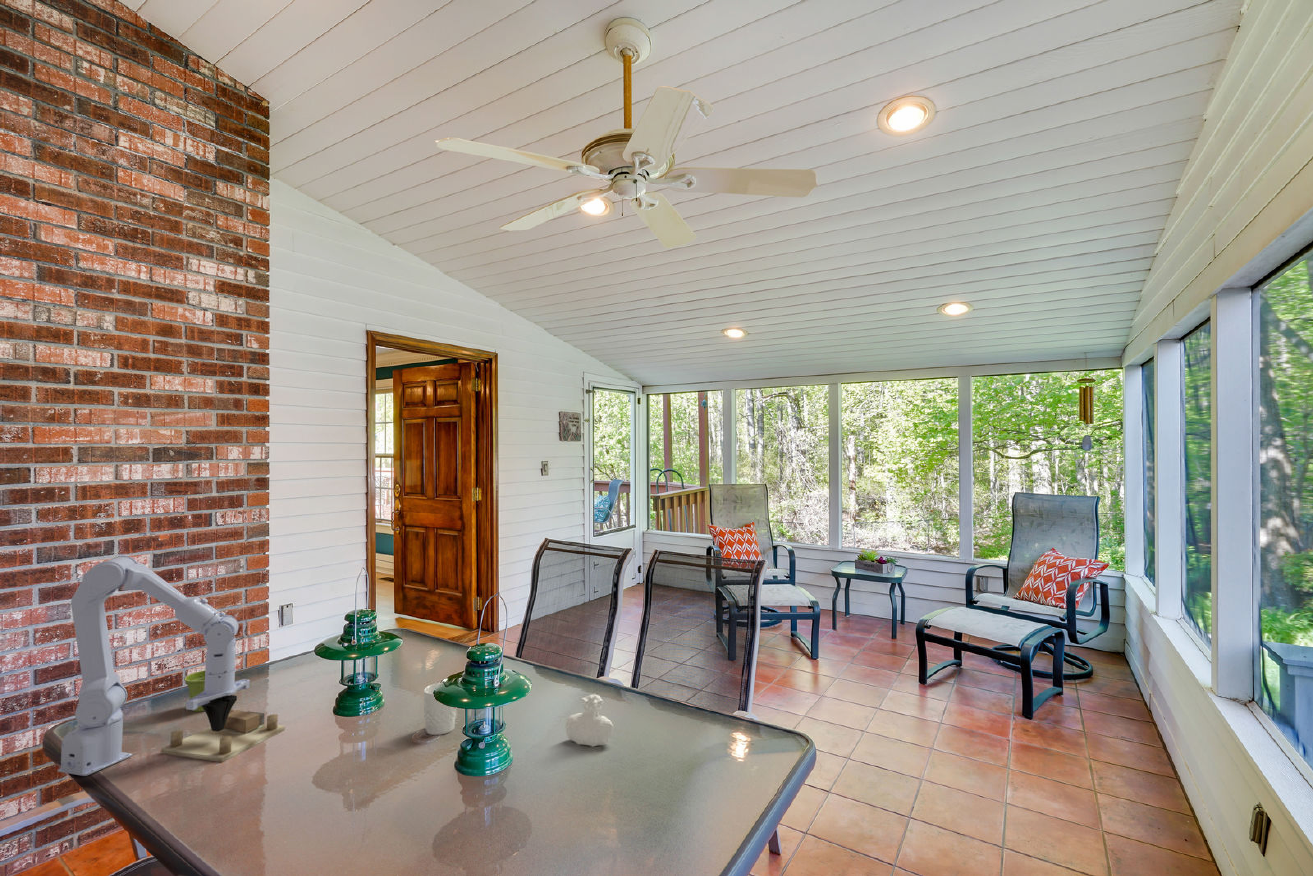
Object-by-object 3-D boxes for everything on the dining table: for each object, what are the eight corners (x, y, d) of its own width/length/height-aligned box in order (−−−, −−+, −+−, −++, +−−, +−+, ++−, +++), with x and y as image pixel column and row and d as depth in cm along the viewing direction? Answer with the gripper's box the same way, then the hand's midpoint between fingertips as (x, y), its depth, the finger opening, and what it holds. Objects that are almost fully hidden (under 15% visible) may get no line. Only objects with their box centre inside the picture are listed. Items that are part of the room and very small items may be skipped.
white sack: (613, 753, 146) (624, 704, 153) (604, 744, 141) (615, 693, 148) (567, 746, 150) (579, 698, 157) (556, 737, 144) (569, 688, 151)
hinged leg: (213, 726, 151) (214, 711, 151) (228, 720, 155) (228, 706, 155) (245, 732, 148) (246, 717, 148) (259, 727, 151) (259, 711, 151)
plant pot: (210, 715, 161) (211, 681, 162) (174, 714, 161) (175, 680, 162) (235, 701, 171) (236, 669, 171) (201, 700, 171) (202, 668, 171)
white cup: (462, 723, 157) (462, 683, 158) (448, 737, 149) (449, 694, 150) (432, 721, 158) (432, 682, 158) (417, 735, 150) (418, 693, 150)
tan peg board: (222, 762, 136) (223, 743, 136) (160, 753, 140) (161, 735, 140) (285, 729, 153) (285, 713, 153) (228, 722, 156) (228, 706, 157)
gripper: (205, 682, 137) (202, 745, 136) (260, 662, 151) (258, 719, 151) (179, 679, 139) (176, 741, 138) (236, 660, 153) (234, 716, 152)
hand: (217, 730), depth 144 cm, fingers closed
